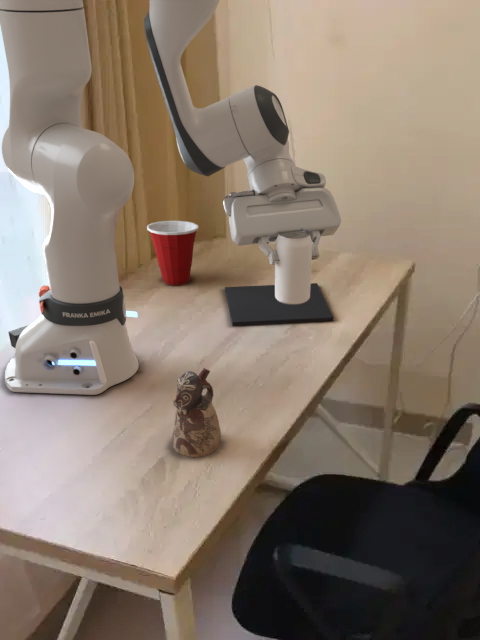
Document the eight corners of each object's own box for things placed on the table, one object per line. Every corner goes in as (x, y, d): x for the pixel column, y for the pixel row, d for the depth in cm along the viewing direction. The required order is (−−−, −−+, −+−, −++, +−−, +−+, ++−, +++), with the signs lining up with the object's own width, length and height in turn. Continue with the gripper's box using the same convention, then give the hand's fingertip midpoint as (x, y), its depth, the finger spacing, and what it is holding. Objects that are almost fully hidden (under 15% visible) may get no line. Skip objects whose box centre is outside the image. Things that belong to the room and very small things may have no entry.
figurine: (166, 438, 113) (159, 366, 106) (209, 426, 116) (205, 356, 108) (184, 462, 108) (178, 388, 101) (228, 449, 111) (226, 377, 103)
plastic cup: (205, 272, 167) (202, 217, 160) (196, 290, 159) (193, 233, 152) (158, 270, 168) (153, 215, 161) (146, 288, 160) (140, 231, 152)
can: (315, 302, 136) (318, 236, 128) (282, 307, 134) (283, 240, 126) (301, 290, 140) (303, 225, 133) (269, 294, 138) (270, 228, 131)
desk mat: (232, 326, 145) (232, 322, 145) (224, 290, 159) (224, 286, 159) (333, 321, 148) (333, 317, 147) (317, 286, 162) (317, 282, 161)
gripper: (224, 183, 127) (244, 259, 126) (332, 174, 134) (352, 245, 132) (216, 203, 133) (236, 275, 132) (321, 193, 140) (340, 262, 138)
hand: (295, 260), depth 132 cm, fingers closed on can, 6 cm apart
